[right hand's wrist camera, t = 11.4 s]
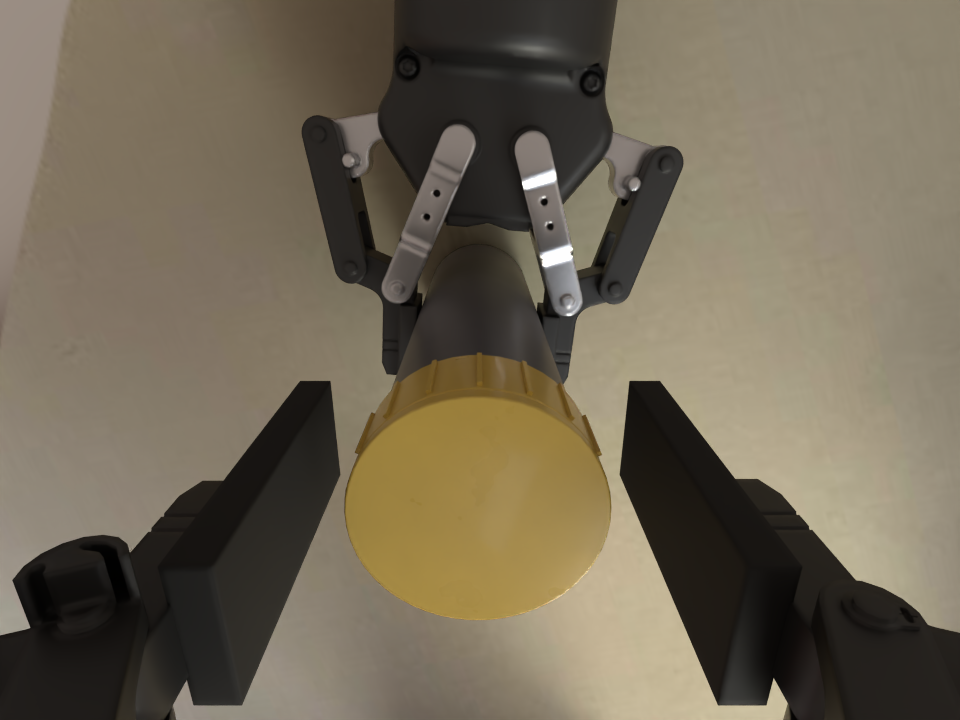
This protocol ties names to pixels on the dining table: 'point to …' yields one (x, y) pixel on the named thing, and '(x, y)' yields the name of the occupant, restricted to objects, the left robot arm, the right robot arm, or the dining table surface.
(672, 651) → the dining table surface
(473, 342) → the jar
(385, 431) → the lid
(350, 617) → the dining table surface
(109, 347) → the dining table surface
